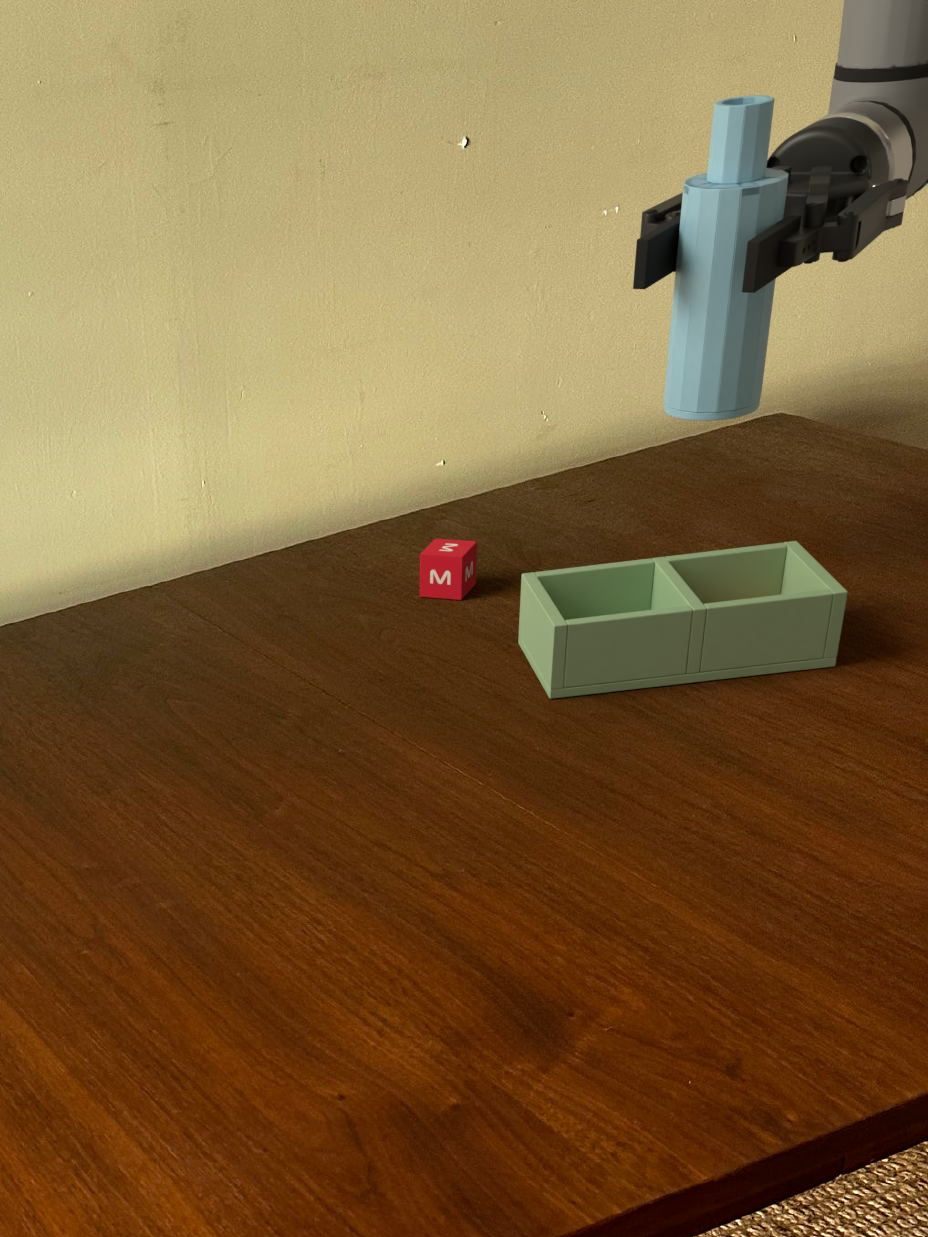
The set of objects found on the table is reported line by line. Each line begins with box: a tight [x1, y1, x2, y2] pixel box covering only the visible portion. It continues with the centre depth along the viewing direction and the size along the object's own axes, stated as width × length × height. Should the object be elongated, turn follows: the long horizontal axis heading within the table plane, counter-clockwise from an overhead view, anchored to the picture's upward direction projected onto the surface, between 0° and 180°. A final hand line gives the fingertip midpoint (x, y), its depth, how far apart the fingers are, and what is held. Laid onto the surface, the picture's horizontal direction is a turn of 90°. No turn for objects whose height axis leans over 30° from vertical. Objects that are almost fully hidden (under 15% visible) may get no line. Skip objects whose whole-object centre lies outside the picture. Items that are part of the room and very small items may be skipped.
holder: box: [517, 540, 848, 700], centre depth 108 cm, size 17×9×5 cm, turn 90°
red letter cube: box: [419, 538, 478, 601], centre depth 121 cm, size 3×3×3 cm
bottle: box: [662, 94, 789, 422], centre depth 107 cm, size 6×6×17 cm
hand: (695, 265), depth 104 cm, fingers closed on bottle, 6 cm apart
